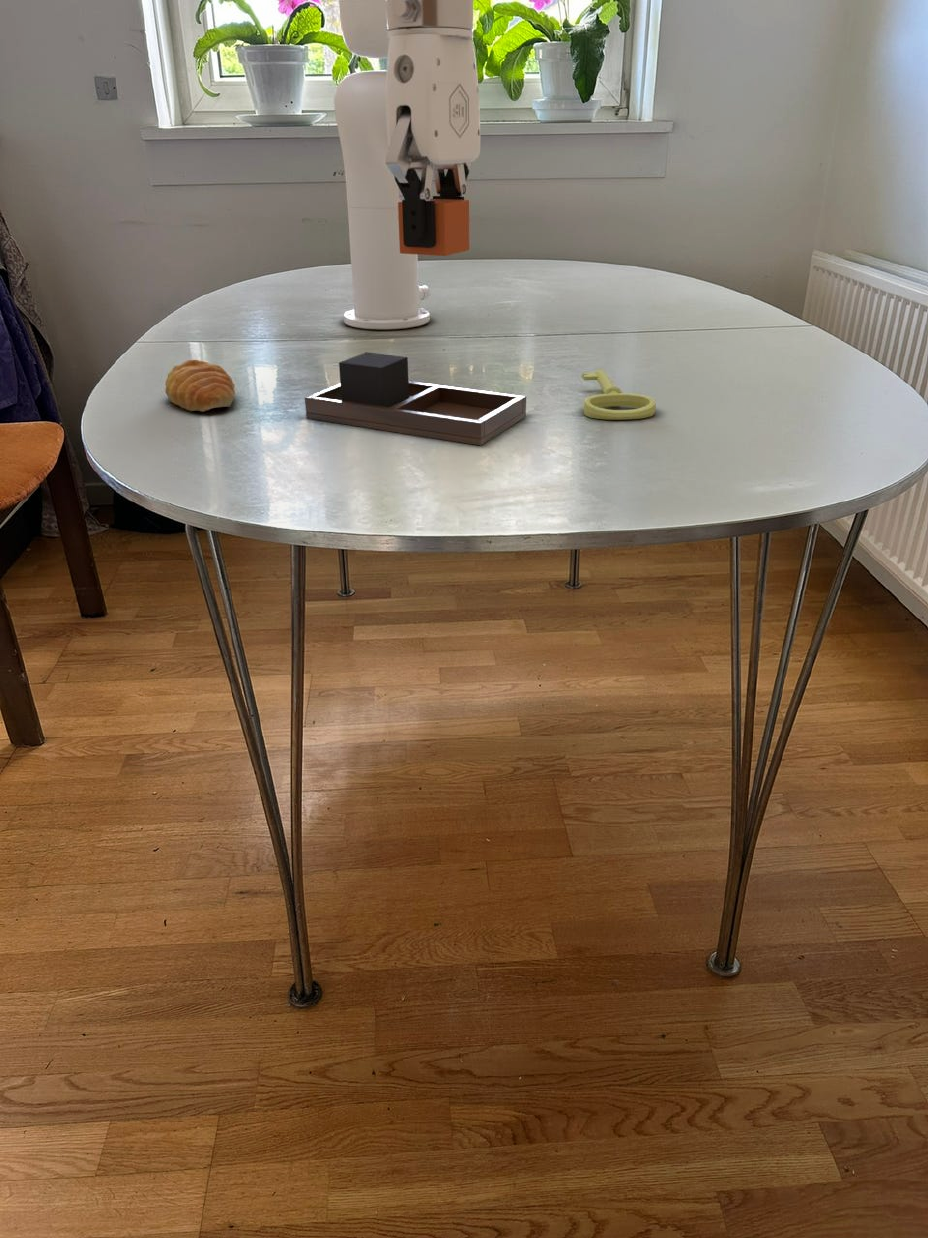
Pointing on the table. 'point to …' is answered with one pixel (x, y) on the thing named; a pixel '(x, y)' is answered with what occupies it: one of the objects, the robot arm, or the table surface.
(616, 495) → the table surface
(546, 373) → the table surface
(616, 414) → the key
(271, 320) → the table surface
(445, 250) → the orange block
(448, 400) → the brown divided tray
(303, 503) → the table surface
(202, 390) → the pastry
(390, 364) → the black block
